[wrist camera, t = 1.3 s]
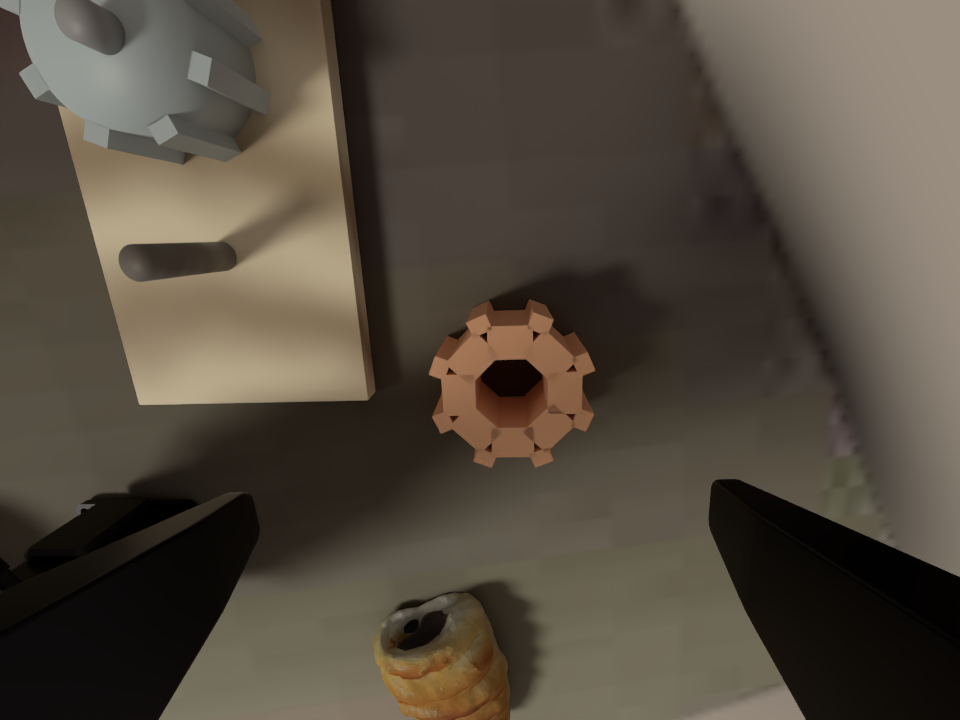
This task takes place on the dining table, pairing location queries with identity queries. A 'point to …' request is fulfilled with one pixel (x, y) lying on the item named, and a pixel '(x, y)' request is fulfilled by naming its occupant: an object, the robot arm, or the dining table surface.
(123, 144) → the gear
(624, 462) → the dining table surface
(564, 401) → the gear
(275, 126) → the gear board
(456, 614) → the pastry
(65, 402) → the dining table surface
